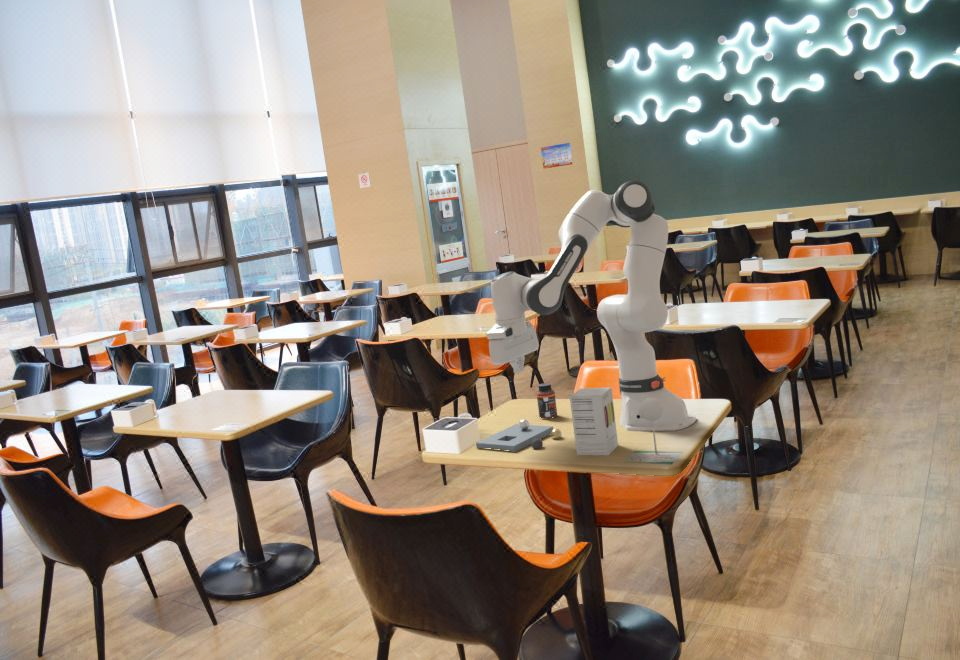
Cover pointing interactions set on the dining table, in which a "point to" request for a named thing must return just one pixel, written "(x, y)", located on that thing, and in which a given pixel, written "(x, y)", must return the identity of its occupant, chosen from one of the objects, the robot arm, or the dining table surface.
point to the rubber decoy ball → (537, 444)
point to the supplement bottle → (546, 401)
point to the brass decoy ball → (556, 434)
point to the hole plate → (515, 437)
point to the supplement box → (594, 421)
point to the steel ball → (524, 424)
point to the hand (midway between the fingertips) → (519, 372)
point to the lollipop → (651, 413)
